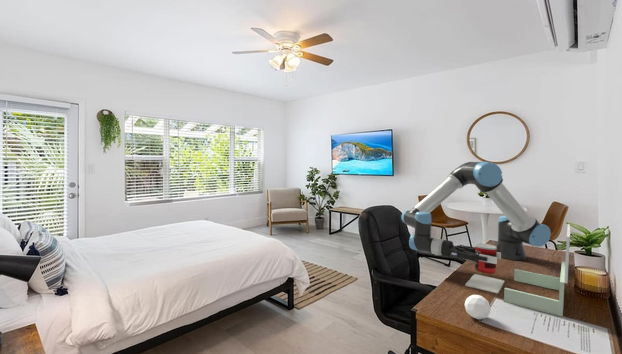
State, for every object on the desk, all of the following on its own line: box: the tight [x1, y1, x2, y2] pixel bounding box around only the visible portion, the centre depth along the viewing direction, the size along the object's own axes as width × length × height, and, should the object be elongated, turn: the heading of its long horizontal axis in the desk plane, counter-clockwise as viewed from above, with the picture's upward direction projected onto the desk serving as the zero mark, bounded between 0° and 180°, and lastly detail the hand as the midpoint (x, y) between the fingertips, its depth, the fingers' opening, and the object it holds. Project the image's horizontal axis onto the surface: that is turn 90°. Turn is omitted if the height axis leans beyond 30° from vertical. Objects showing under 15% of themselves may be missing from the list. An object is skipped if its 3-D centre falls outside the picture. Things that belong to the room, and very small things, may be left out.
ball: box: [464, 294, 492, 320], centre depth 103 cm, size 8×8×8 cm
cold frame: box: [503, 223, 571, 318], centre depth 119 cm, size 28×18×28 cm, turn 139°
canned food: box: [474, 243, 497, 275], centre depth 131 cm, size 8×8×11 cm
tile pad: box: [465, 273, 505, 295], centre depth 131 cm, size 16×12×1 cm
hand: (498, 258), depth 127 cm, fingers closed on canned food, 8 cm apart
